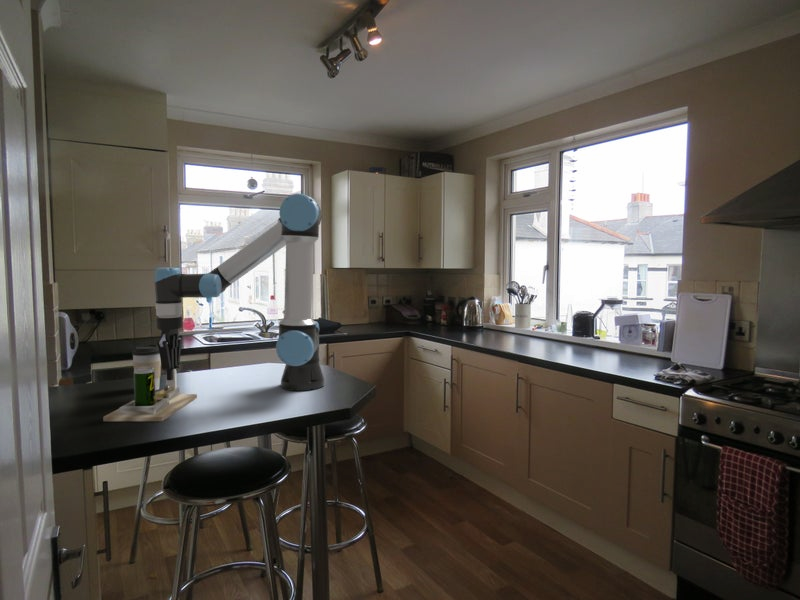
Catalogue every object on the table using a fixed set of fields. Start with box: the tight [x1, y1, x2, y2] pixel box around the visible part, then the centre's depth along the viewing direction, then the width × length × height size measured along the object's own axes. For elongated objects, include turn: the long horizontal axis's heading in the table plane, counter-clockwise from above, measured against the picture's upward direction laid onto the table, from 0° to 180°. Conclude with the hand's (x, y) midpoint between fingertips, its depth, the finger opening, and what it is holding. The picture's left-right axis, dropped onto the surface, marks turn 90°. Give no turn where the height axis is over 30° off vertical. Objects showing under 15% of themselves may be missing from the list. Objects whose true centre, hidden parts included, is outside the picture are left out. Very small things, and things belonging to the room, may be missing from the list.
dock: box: [102, 387, 198, 422], centre depth 150 cm, size 16×24×3 cm, turn 0°
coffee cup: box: [131, 344, 162, 391], centre depth 173 cm, size 9×9×15 cm
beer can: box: [133, 366, 156, 406], centre depth 145 cm, size 5×5×12 cm
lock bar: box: [155, 384, 175, 401], centre depth 158 cm, size 2×8×3 cm, turn 0°
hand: (171, 389), depth 162 cm, fingers closed
